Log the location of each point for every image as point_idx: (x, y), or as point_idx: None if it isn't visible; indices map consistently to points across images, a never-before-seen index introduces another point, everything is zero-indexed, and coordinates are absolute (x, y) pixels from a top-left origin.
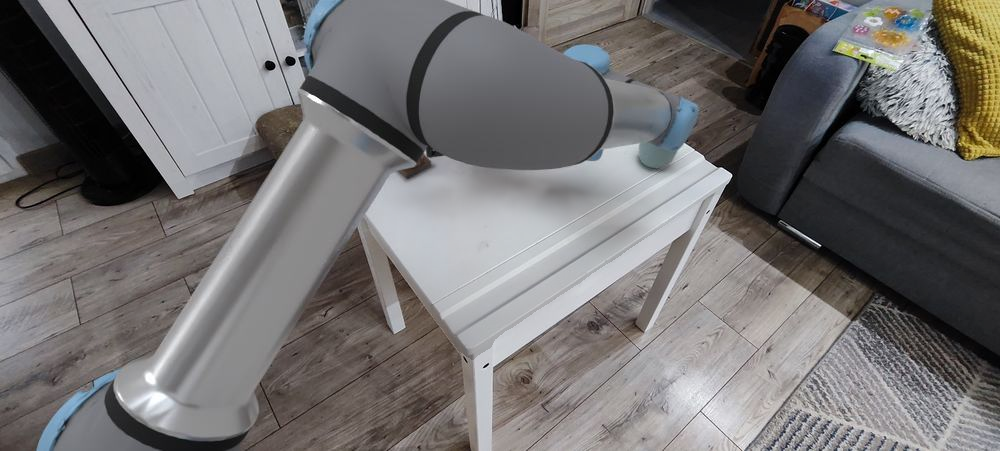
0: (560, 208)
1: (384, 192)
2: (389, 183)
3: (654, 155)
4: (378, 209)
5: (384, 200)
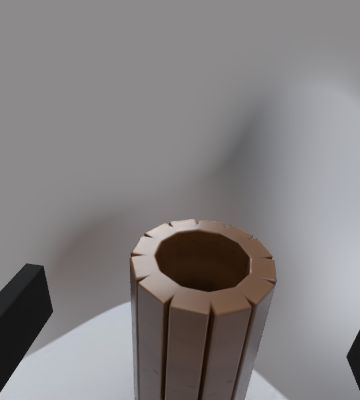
0: None
1: (66, 389)
2: (101, 395)
3: None
4: (3, 388)
5: (33, 396)
